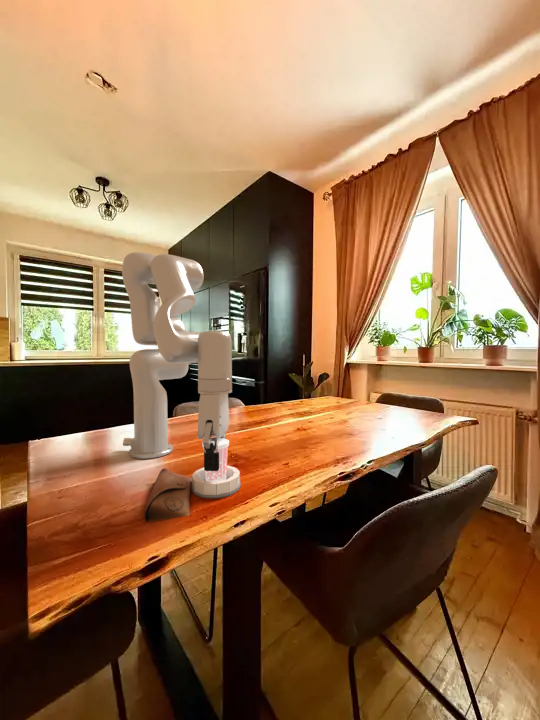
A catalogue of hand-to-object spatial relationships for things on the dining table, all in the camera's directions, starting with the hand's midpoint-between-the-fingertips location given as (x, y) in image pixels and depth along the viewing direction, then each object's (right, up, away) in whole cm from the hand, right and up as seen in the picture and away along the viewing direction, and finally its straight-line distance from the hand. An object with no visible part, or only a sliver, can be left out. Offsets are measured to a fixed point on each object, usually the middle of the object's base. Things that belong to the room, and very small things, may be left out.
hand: (215, 463), depth 69 cm
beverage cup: (0, -4, 0) cm, 4 cm away
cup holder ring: (0, -5, 0) cm, 5 cm away
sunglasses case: (-8, -6, -5) cm, 11 cm away
